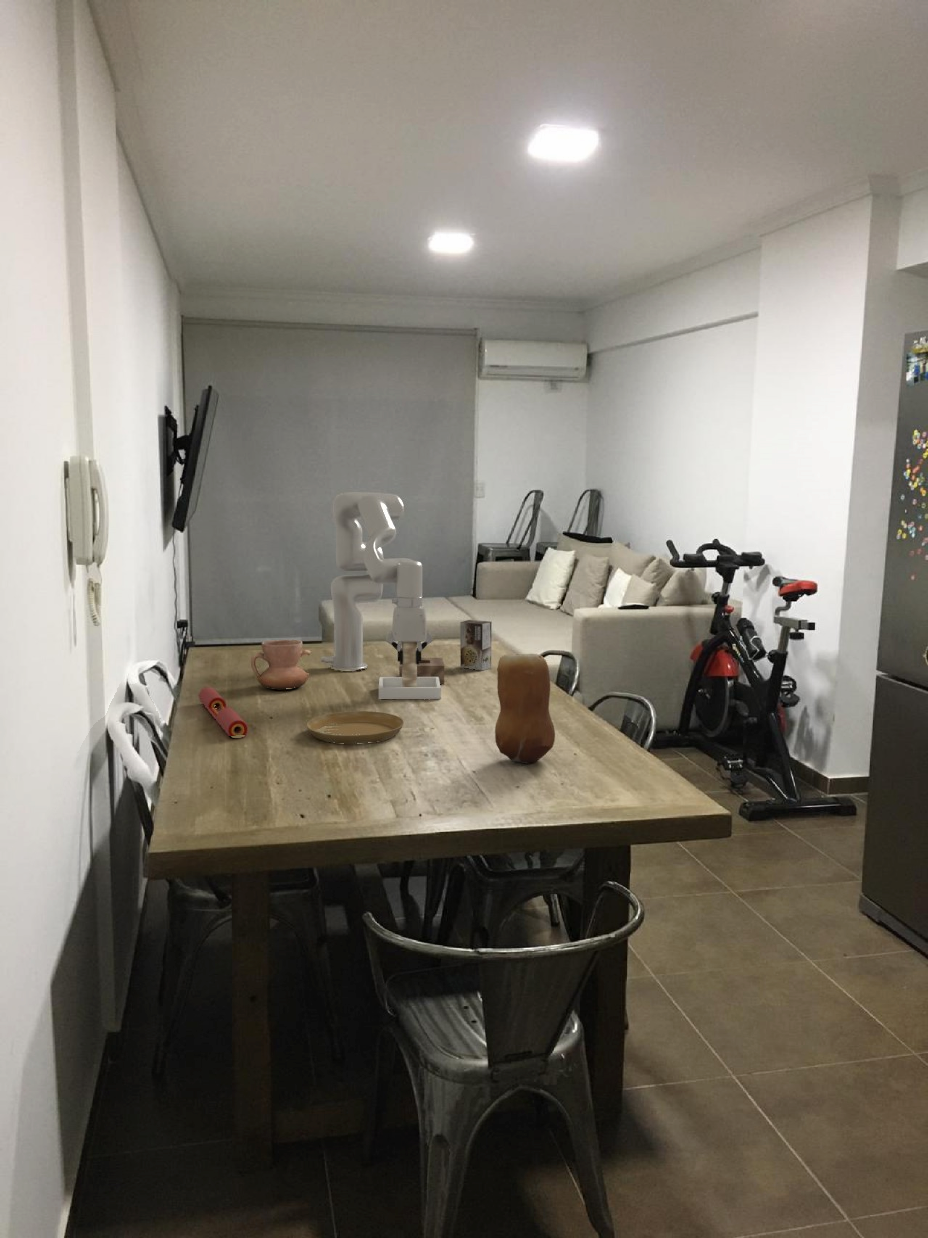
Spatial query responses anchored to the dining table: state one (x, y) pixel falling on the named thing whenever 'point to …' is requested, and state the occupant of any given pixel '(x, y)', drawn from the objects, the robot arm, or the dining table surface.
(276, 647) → the ceramic jug
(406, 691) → the tray
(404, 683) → the dowel
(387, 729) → the plant saucer
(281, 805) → the dining table surface
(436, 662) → the socket block
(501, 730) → the butternut squash
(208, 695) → the blood vessel
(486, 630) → the coffee box
